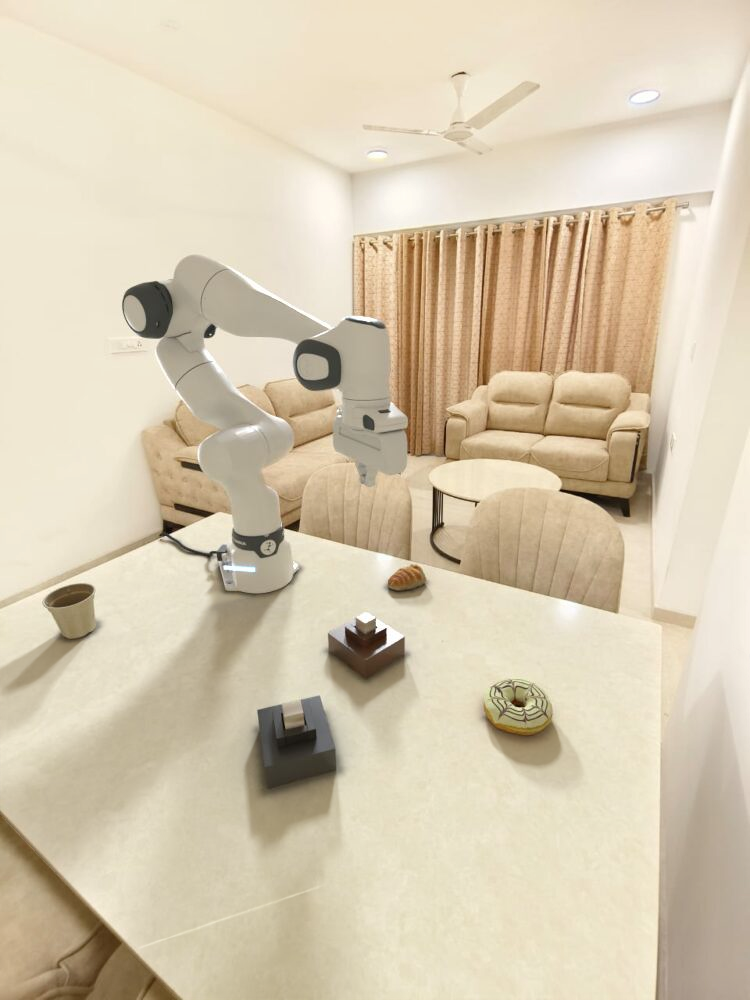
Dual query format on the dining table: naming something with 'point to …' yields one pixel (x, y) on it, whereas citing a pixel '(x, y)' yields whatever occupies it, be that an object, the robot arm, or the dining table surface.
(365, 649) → the walnut key block
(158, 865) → the dining table surface
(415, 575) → the pastry
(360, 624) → the back key
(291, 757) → the black key block
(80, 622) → the flower pot
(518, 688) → the decorated donut
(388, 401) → the robot arm
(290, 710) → the front key
